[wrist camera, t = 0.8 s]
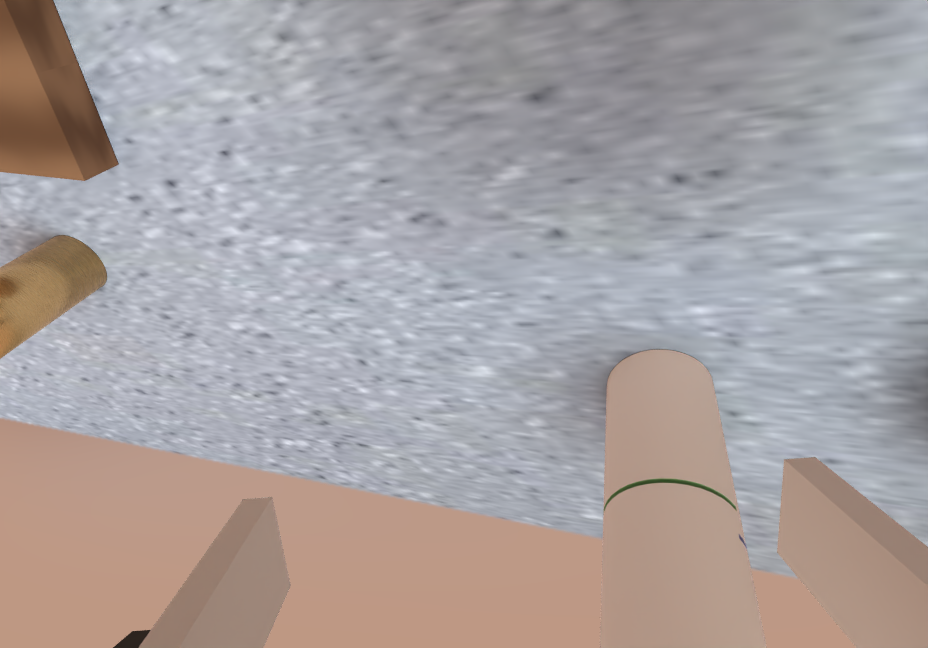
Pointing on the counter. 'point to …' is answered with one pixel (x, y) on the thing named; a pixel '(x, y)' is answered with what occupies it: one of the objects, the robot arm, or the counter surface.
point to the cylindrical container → (671, 514)
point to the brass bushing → (45, 287)
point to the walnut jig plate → (45, 99)
